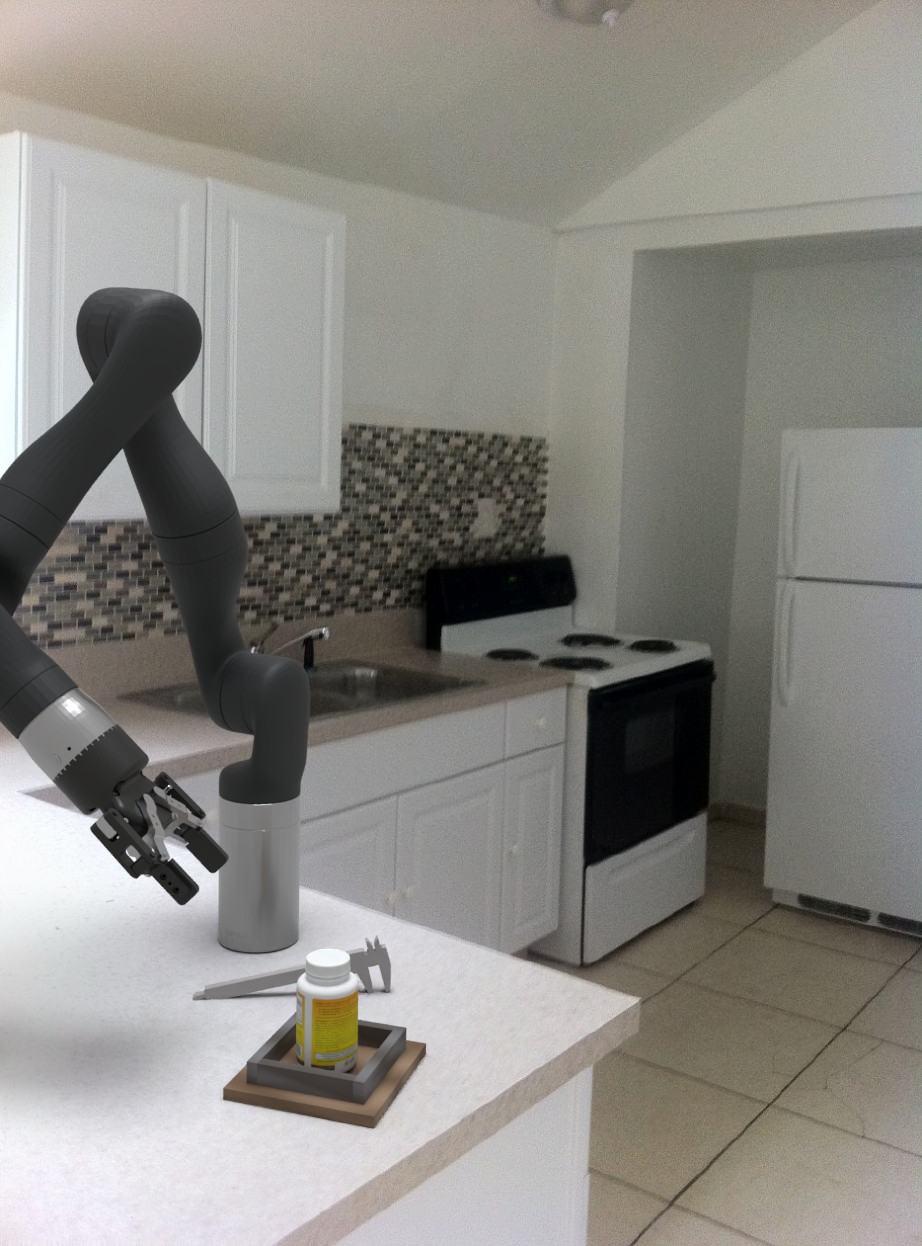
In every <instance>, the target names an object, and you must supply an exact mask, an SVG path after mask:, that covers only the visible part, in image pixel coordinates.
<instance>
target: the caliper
mask: <svg viewBox="0 0 922 1246" xmlns="http://www.w3.org/2000/svg"><path fill="white" fill-rule="evenodd" d="M364 940H365V943H366V947H367V948H366V950H365V949H364V947H360V948H355V949H351V950H346V951H344V952H346V953H348V954H349V956H350V967H351V969H350V972H352V973H353V974H354V975H357V976H358V978H359V980H360V981H361V983H362V985H363V986H364V989H366V991H367V993H368V994H374V990H373V989H374V988H373V982H372V981H373V980H372V977H371V974H370V970H369V968H371V967H376V966H378V967H379V971H380V975H381V979H382V982H383V987H384V990H385V993H389V991H390V990H391V986H392V985H391V984H392V982H391V981H392V980H391V979H392V963H391V959H390V956H389V953H388V949H387V945H386V943H381V944H380V940H379V935H378V934H376V935H375V938H374V941H373V944H372V942H371V941H370V939H368V937H365V939H364ZM305 967H306V963H305V964H299V965H294V966H290V967H285V968H280V969H277V970H272V971H271V970H270V971H267V972H262V973H258V974H253V975H247V976H243V977H239V978H234V979H229V980H223V981H220V982H215V983H211V984H207V985H204V990H200V991H196V992H195V993H194V994H192V1001H198V1000H203V999H205V1000H206V1001H207V1000H209V1001H210V1000H211V999H213V1000H225V999H230V998H233V997H234V998H235V997H238V996H242V995H243V996H244V995H246V994H247V995H248V994H251V993H257V992H261V991H265V990H270V989H274V988H279V987H284V986H290V985H294V984H297V981H298V979H299V977H300V976H301V975H302V974H304V973H305V972H306V970H305ZM211 1001H212V1000H211Z"/></svg>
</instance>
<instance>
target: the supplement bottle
mask: <svg viewBox="0 0 922 1246" xmlns="http://www.w3.org/2000/svg"><path fill="white" fill-rule="evenodd" d="M305 964H306V967H305V970H306V972H305V973H304V974H302V975H301V976H300V977H299V979H298V981H297V983H296V1008H295V1009H296V1011H295V1012H296V1061H297V1064H298V1065H302V1066H308V1067H313V1068H319V1069H325V1070H330V1071H336V1072H341V1073H345V1072H347V1071H348V1070H350V1069H351V1068H352V1067H353V1066H354V1065H355V1063H356V1061H357V1051H358V1020H359V979H358V977H357V976H356V974H353V973H352V972H350V969H351V967H350V956H349V954H348V953H346V952H345V951H344V950H341V949H338V948H337V949H336V948H322V949H321V948H320V949H316V950H313V951H311V952H310V953H308V954H307V955H306V957H305Z"/></svg>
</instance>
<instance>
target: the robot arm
mask: <svg viewBox="0 0 922 1246" xmlns="http://www.w3.org/2000/svg"><path fill="white" fill-rule="evenodd" d="M76 318H77V319H76V326H75V330H76V331H75V335H76V342H77V346H78V351H79V354H80V358H81V359H82V362H83V365H84V367H85V369H86V371H87V373H88V375H89V378H90V380H91V382H92V385H90V387H89V389H88V390H87V391H86V393H85V394H84V395H83V396H82V397H81V399H79V401H78V402H77V403H75V405H74V406H73V407H72V408H71V409H70V410H69V411H68V412H67V413H66V414H64V416H62V418H60V420H58V421H57V422H56V423H55V424H54V425H52V426H51V427H50V428H49V429H48V430H47V431H45V432H44V433H43V434H42V435H40V436H39V437H38V438H36V440H34V441H33V442H32V443H31V444H30V445H28V446H27V447H26V449H24V450H23V451H22V452H21V453H20V454H19V455H18V456H17V457H16V458H15V459H14V461H12V463H11V464H10V465H9V467H7V469H6V471H5V472H3V474H2V475H1V477H0V723H1V724H2V725H3V726H4V728H5V729H6V730H7V731H8V732H9V733H10V734H11V735H12V736H13V737H14V738H15V739H16V740H17V741H18V742H19V744H20V745H22V747H23V749H24V750H25V751H26V753H27V754H28V756H29V757H30V759H31V760H32V761H33V762H34V763H35V764H36V765H37V767H38V768H39V769H40V770H41V771H42V772H43V773H44V774H45V775H46V776H47V778H49V780H50V781H52V783H53V784H54V785H55V786H56V787H57V788H58V789H59V791H60V792H62V793H63V794H64V795H65V797H66V798H67V799H68V800H69V801H70V803H72V804H73V805H74V806H75V807H76V809H78V810H79V812H81V814H83V815H85V816H91V815H93V814H94V813H96V812H98V811H100V812H101V813H102V815H101V816H100V817H99V818H98V819H97V820H96V821H95V822H94V823H92V825H91V826H89V830H90V832H91V833H92V834H93V835H94V836H95V838H96V839H97V840H98V841H99V842H100V843H101V845H102V846H104V848H105V849H106V850H107V851H108V852H109V853H110V854H111V856H113V858H114V859H115V860H116V861H117V863H118V864H119V865H120V866H121V867H122V868H123V869H124V870H125V871H126V872H127V874H128V875H129V876H130V877H132V878H133V879H136V880H137V879H139V877H141V876H144V877H146V878H153V879H154V880H155V881H156V882H157V883H158V884H159V886H161V887H162V888H163V889H164V891H165V892H166V893H167V894H168V895H169V896H170V897H171V898H172V899H173V900H174V901H175V902H176V903H177V904H178V905H179V906H185V905H187V904H188V903H189V902H190V901H191V900H193V898H194V897H195V896H196V895H197V894H198V893H199V892H200V886H199V884H197V882H196V881H195V880H194V879H193V877H191V876H190V875H189V874H188V873H187V872H186V870H184V868H183V866H181V865H180V864H179V863H178V862H177V861H176V860H175V858H173V857H172V858H171V857H170V854H169V851H168V849H167V847H166V844H165V842H164V839H165V838H168V837H171V838H172V839H174V840H176V841H178V842H180V843H181V844H186V845H185V848H186V849H187V850H188V851H189V852H190V853H191V854H192V856H193V857H194V858H195V859H196V860H197V861H198V862H199V863H200V864H201V865H202V866H203V868H205V870H207V872H209V873H210V874H215V873H217V872H218V907H217V908H218V912H217V913H218V914H217V915H218V918H217V921H218V925H217V926H218V927H217V928H218V929H217V930H218V931H217V933H218V934H217V935H218V936H217V938H218V942H219V943H220V945H222V946H224V947H225V948H227V949H230V950H233V951H238V952H244V953H267V952H273V951H278V950H282V949H284V948H285V949H286V948H287V947H290V946H291V945H294V944H295V943H296V941H298V940H299V935H300V933H299V931H300V929H299V928H300V925H299V924H300V923H299V921H300V876H301V875H300V874H301V873H300V870H301V869H300V868H301V867H300V865H301V864H300V862H301V796H302V795H301V790H302V789H301V785H302V780H303V775H304V772H305V769H306V764H307V758H308V740H309V739H308V738H309V729H310V728H309V727H310V725H309V724H310V713H311V711H310V710H311V688H310V680H309V678H308V673H307V671H306V669H305V667H304V666H303V664H301V663H300V662H299V661H298V660H296V659H294V658H290V657H286V656H280V655H272V654H265V653H264V654H263V653H256V652H251V651H250V650H249V647H247V644H246V643H245V641H244V638H243V635H242V633H241V628H240V626H239V622H238V617H237V611H236V605H237V600H238V597H239V593H240V589H241V586H242V583H243V579H244V576H245V574H246V570H247V565H248V560H249V542H248V537H247V534H246V530H245V526H244V524H243V520H242V518H241V515H240V511H239V508H238V504H237V502H236V499H235V496H234V494H233V491H232V489H231V487H230V485H229V483H228V481H227V480H226V478H225V476H224V475H223V474H222V471H221V470H220V469H219V467H218V466H217V465H216V463H215V462H214V460H213V459H212V457H211V456H210V455H209V454H208V452H207V451H206V450H205V449H204V447H203V445H202V444H201V443H200V442H199V440H198V439H197V438H196V436H195V435H194V433H193V432H192V431H191V429H190V427H189V426H188V425H187V423H186V421H185V420H184V418H183V416H182V414H181V412H180V410H179V408H178V406H177V403H176V400H175V398H174V394H173V393H174V392H175V390H176V389H177V388H178V387H180V385H181V384H182V383H183V381H184V380H186V378H187V377H188V375H189V374H190V372H192V370H193V368H194V367H195V364H196V363H197V361H198V359H199V356H200V353H201V349H202V343H203V331H202V325H201V322H200V319H199V318H200V317H199V316H198V314H197V313H196V311H195V309H194V308H193V307H192V305H191V304H190V303H189V302H188V301H187V300H185V298H183V297H181V296H180V295H178V294H175V293H173V292H169V291H165V290H160V289H153V288H135V287H127V286H126V287H125V286H124V287H123V286H119V287H117V286H112V287H106V288H105V287H104V288H100V289H97V290H95V291H94V292H92V293H91V294H90V295H88V297H87V298H86V299H85V300H84V301H83V303H82V305H81V306H80V308H79V311H78V315H77V317H76ZM121 451H123V453H124V457H125V460H126V462H127V465H128V468H129V471H130V474H131V476H132V479H133V482H134V485H135V487H136V490H137V492H138V495H139V498H140V501H141V503H142V505H143V509H144V512H145V515H146V519H147V522H148V526H149V529H150V531H151V535H152V536H153V540H154V543H155V546H156V549H157V552H158V554H159V558H160V561H161V562H162V565H163V567H164V569H165V572H166V575H167V577H168V579H169V582H170V586H171V589H172V591H173V595H174V599H175V601H176V605H177V607H178V610H179V614H180V616H181V617H180V618H181V619H182V623H183V626H184V630H185V633H186V637H187V639H188V640H187V641H188V644H189V648H190V653H191V657H192V662H193V666H194V670H195V675H196V679H197V683H198V686H199V687H198V689H199V692H200V696H201V698H202V699H201V700H202V702H203V704H204V708H205V710H206V713H207V714H208V716H209V718H210V720H212V721H213V724H215V725H216V726H218V727H219V728H221V729H224V730H225V731H228V732H231V733H237V734H238V733H239V734H244V735H249V736H253V741H252V742H253V743H252V750H251V756H250V758H249V759H244V760H240V761H237V762H234V763H230V764H228V765H226V766H225V767H223V768H222V769H221V771H220V773H219V777H218V843H217V841H215V839H213V837H212V836H211V835H210V834H209V833H208V832H207V831H206V830H205V829H204V828H205V823H204V822H203V820H204V819H205V818H206V817H207V815H206V812H205V811H204V809H203V808H202V807H201V806H199V804H197V802H195V801H194V800H193V798H192V797H190V795H189V794H188V793H186V791H185V790H184V789H183V788H182V787H181V786H180V785H179V784H178V783H177V782H176V781H175V780H174V779H172V778H171V776H170V775H169V774H168V773H166V772H164V771H161V772H159V774H158V775H157V776H155V777H154V778H153V779H152V780H151V779H150V778H148V777H147V776H146V775H144V774H143V770H144V769H145V768H146V766H147V765H148V764H149V763H150V762H149V761H150V757H149V755H148V754H147V753H146V752H145V751H144V750H143V749H142V748H141V747H140V746H139V745H138V744H137V743H136V742H135V740H133V739H132V737H130V735H129V734H128V733H127V732H126V731H125V730H124V729H123V728H122V727H121V726H120V725H119V724H118V723H117V722H116V721H115V719H114V718H113V717H112V716H111V715H110V714H109V713H108V712H107V711H106V710H105V709H104V708H103V707H102V705H100V704H99V702H97V701H96V700H95V699H94V698H92V697H91V696H90V695H89V694H87V693H86V691H84V690H83V689H81V687H79V685H78V683H76V682H75V681H74V680H73V678H71V677H70V675H68V673H67V672H66V671H65V670H64V669H63V668H62V667H61V666H60V665H59V664H58V662H56V660H54V659H53V658H52V657H50V656H49V654H47V653H46V652H45V651H44V650H42V649H41V648H40V647H39V646H37V645H36V644H35V643H34V642H33V641H32V639H31V638H30V637H29V636H28V634H26V632H25V631H24V629H22V628H21V627H20V625H19V624H18V623H17V621H16V620H15V619H14V618H13V616H14V614H15V613H16V611H17V609H18V607H19V604H20V603H21V601H22V598H23V596H24V595H25V592H26V591H27V589H28V586H29V583H30V581H31V580H32V577H33V575H34V573H35V571H36V570H37V568H38V566H39V565H40V563H41V562H42V561H43V560H44V559H45V557H46V556H47V554H48V553H49V551H50V550H51V548H52V547H53V545H54V544H55V542H56V541H57V539H58V537H59V536H60V535H61V533H62V532H63V530H64V528H65V527H66V526H67V524H68V523H69V520H70V519H71V517H72V516H73V514H74V513H75V511H76V510H77V508H78V507H79V505H80V504H81V502H82V501H83V500H84V498H85V496H86V495H87V494H88V492H89V491H90V490H91V488H92V486H93V485H95V483H96V482H97V480H98V479H99V478H100V476H101V475H102V474H103V473H104V472H105V470H106V469H107V467H109V465H110V464H111V463H112V462H113V461H114V459H115V458H116V457H117V456H118V454H119V453H120V452H121ZM188 811H189V812H188ZM131 857H133V858H135V860H133V859H132V858H131Z"/></svg>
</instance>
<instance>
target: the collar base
mask: <svg viewBox="0 0 922 1246" xmlns="http://www.w3.org/2000/svg"><path fill="white" fill-rule="evenodd" d="M426 1054H427V1043H425V1042H421V1041H414V1040H409V1039H408V1040H407V1027H405V1026H399V1025H394V1024H393V1025H392V1024H387V1023H382V1022H374V1021H368V1020H362V1019H358V1051H357V1061H356V1063H355V1065H354V1066H353V1067H352V1068H351V1069H350V1070H348V1071H347V1072H345V1073H341V1072H336V1071H330V1070H325V1069H319V1068H313V1067H308V1066H302V1065H298V1064H297V1061H296V1011H295V1012H294V1013H293V1014H292V1015H291V1016H290V1017H289V1018H288V1019H287V1020H286V1021H285V1022H284V1023H283V1024H282V1025H281V1026H280V1027H279V1028H278V1029H277V1030H276V1031H275V1032H274V1033H273V1034H272V1035H271V1036H270V1037H269V1038H268V1039H267V1040H266V1041H265V1042H264V1043H263V1044H262V1046H261V1047H259V1049H258V1050H257V1051H256V1052H254V1053H253V1054H252V1055H251V1056H250V1057H249V1058H248V1059H247V1061H246V1064H245V1065H244V1066H243V1068H241V1069H240V1070H239V1071H238V1072H237V1074H235V1075H234V1076H233V1077H232V1078H231V1080H229V1081H228V1083H226V1085H224V1086H223V1088H222V1099H223V1100H227V1101H232V1102H237V1103H242V1104H247V1105H253V1106H257V1107H264V1108H268V1109H273V1110H278V1111H284V1112H289V1113H294V1114H299V1115H306V1116H310V1117H316V1118H320V1119H326V1120H331V1121H335V1122H341V1123H347V1124H352V1125H357V1126H363V1127H368V1128H372V1129H373V1128H375V1127H376V1125H377V1124H378V1123H379V1121H380V1119H382V1117H383V1116H384V1114H385V1113H386V1111H388V1108H389V1107H390V1105H391V1104H392V1103H393V1101H394V1100H395V1098H396V1097H397V1095H398V1094H399V1093H400V1091H401V1090H402V1088H403V1087H404V1085H406V1083H407V1082H408V1080H409V1078H410V1077H411V1075H412V1074H413V1072H414V1071H415V1070H416V1069H417V1067H418V1066H419V1065H420V1062H421V1061H422V1060H423V1058H424V1057H425V1055H426Z"/></svg>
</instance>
